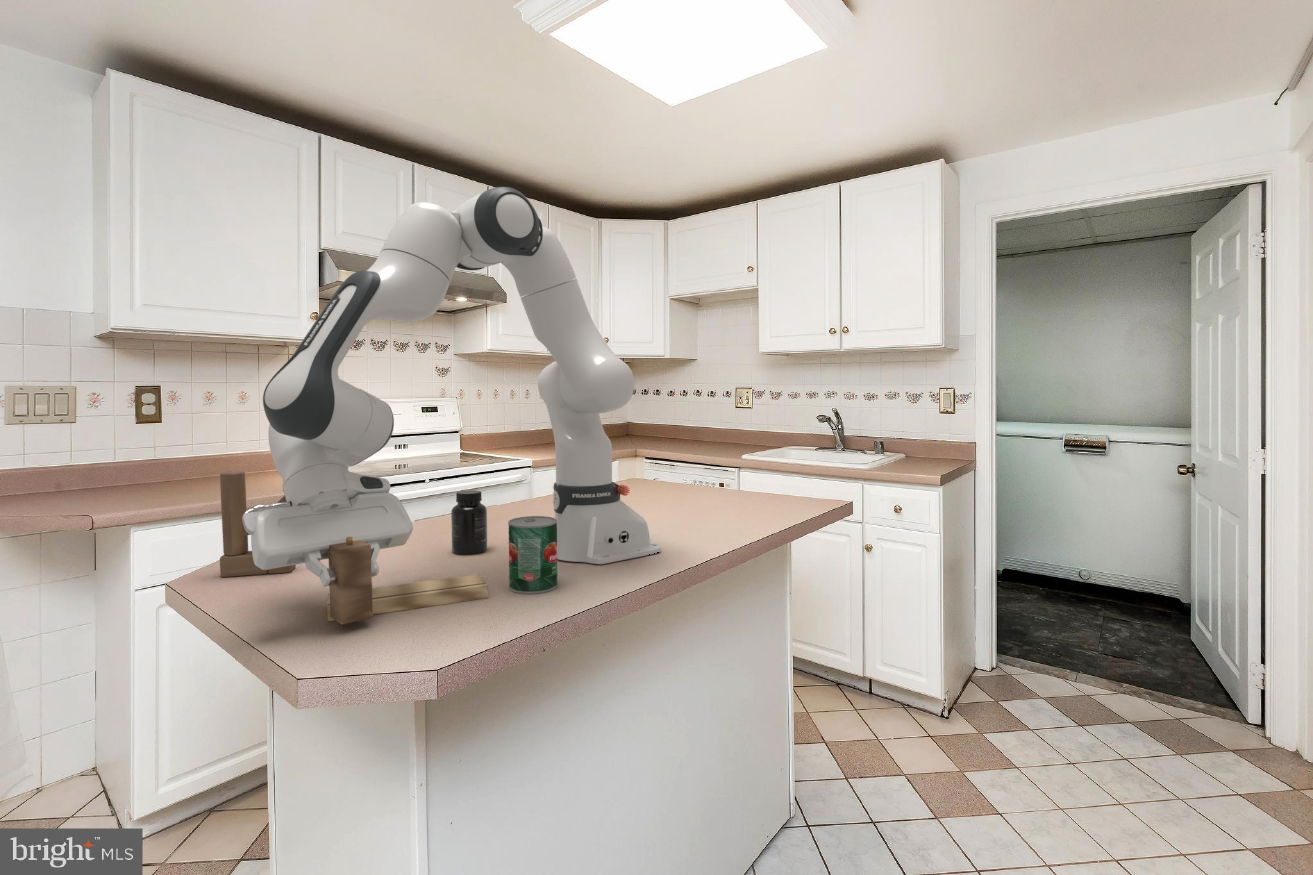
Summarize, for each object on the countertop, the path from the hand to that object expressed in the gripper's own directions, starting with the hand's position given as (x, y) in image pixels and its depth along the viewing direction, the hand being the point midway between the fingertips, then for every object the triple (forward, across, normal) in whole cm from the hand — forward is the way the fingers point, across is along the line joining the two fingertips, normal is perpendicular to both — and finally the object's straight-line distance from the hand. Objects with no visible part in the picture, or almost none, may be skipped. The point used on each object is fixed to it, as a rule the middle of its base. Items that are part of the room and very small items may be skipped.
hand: (352, 579), depth 83 cm
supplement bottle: (-13, +32, +23) cm, 41 cm away
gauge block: (+3, 0, +4) cm, 5 cm away
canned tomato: (+7, +28, +3) cm, 29 cm away
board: (+2, +10, +8) cm, 13 cm away
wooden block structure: (-22, -1, +32) cm, 39 cm away
